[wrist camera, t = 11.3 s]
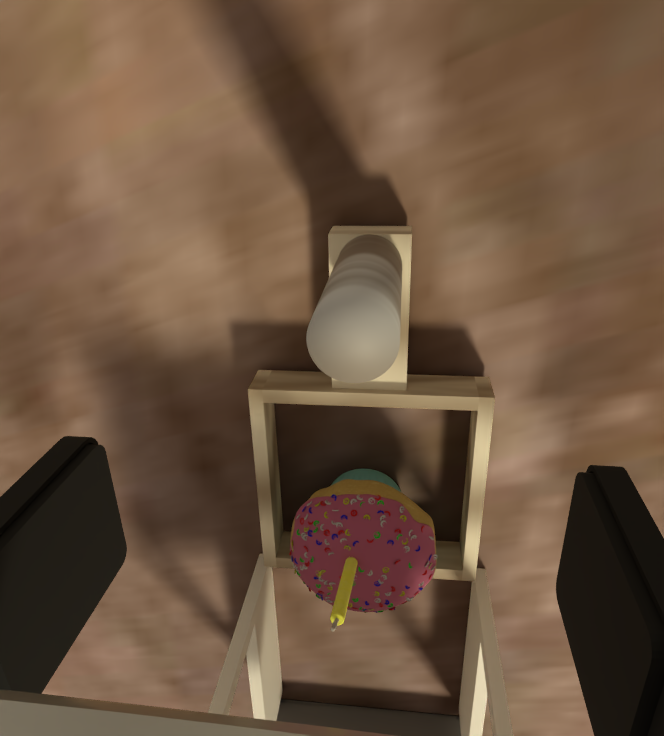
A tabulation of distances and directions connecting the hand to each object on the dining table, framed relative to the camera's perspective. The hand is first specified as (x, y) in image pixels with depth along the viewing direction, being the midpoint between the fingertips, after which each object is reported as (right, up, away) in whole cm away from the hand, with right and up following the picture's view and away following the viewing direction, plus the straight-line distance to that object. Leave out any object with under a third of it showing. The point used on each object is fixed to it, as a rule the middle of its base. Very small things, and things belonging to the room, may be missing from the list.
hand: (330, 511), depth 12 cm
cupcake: (+2, -6, +26) cm, 27 cm away
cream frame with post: (+2, +1, +22) cm, 23 cm away
